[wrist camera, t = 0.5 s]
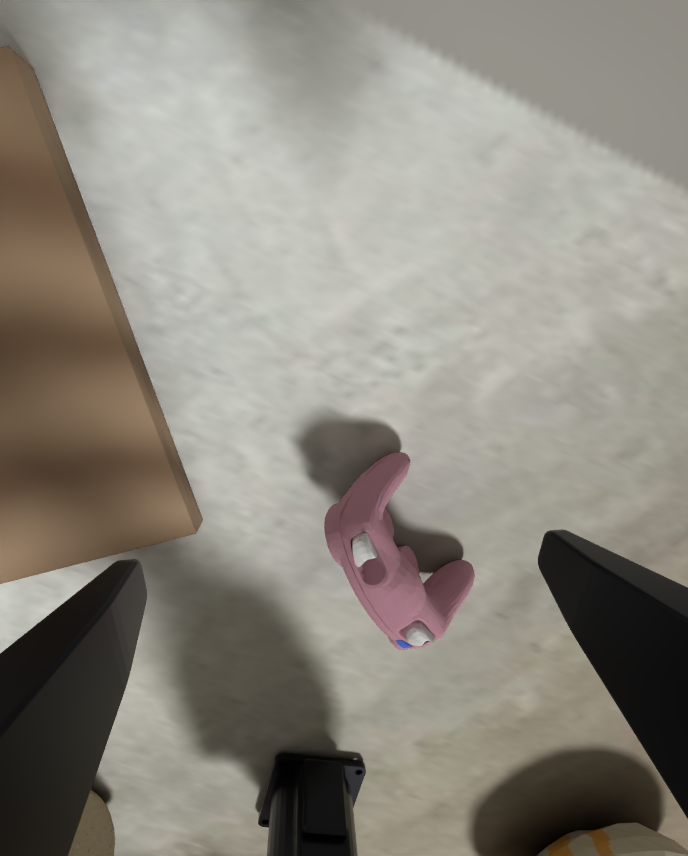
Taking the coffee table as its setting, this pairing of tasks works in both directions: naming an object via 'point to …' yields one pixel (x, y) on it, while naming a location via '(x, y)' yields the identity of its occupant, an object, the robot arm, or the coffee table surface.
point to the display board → (69, 370)
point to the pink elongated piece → (391, 561)
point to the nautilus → (615, 843)
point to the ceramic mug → (94, 830)
